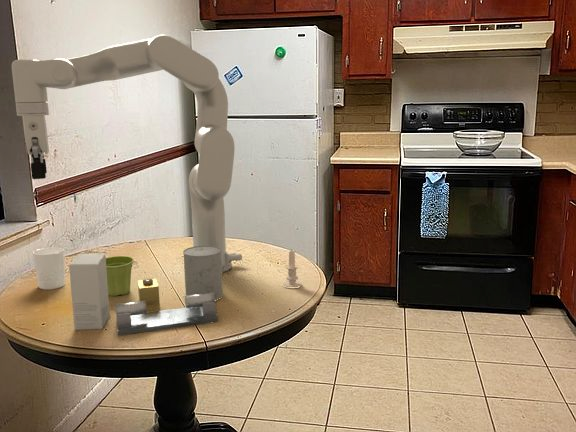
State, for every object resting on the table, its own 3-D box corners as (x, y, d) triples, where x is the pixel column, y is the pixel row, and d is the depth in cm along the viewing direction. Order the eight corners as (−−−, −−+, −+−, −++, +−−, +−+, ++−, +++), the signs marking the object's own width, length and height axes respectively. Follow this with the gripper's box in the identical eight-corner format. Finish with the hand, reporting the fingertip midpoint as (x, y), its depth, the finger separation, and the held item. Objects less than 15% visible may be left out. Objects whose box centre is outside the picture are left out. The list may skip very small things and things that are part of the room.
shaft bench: (210, 308, 138) (209, 286, 137) (217, 321, 129) (217, 299, 128) (116, 320, 131) (114, 297, 130) (118, 335, 123) (116, 311, 121)
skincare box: (83, 316, 134) (77, 253, 130) (112, 315, 134) (106, 252, 131) (73, 331, 125) (66, 263, 122) (103, 329, 126) (98, 262, 123)
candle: (282, 289, 151) (281, 251, 148) (283, 282, 156) (282, 246, 153) (301, 288, 150) (301, 251, 148) (302, 282, 155) (301, 246, 153)
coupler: (139, 303, 142) (137, 277, 140) (157, 301, 143) (155, 275, 142) (141, 312, 136) (139, 285, 135) (160, 309, 137) (158, 283, 136)
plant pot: (123, 300, 144) (120, 267, 142) (91, 296, 146) (88, 264, 145) (143, 288, 152) (140, 257, 151) (112, 285, 155) (110, 254, 153)
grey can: (229, 292, 148) (227, 247, 146) (212, 305, 140) (210, 257, 137) (196, 288, 152) (194, 244, 149) (178, 301, 143) (175, 254, 140)
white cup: (56, 291, 151) (52, 255, 149) (30, 289, 152) (26, 254, 150) (73, 281, 158) (69, 247, 156) (48, 280, 160) (44, 246, 158)
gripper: (47, 110, 138) (54, 179, 141) (49, 108, 153) (55, 171, 157) (13, 111, 135) (21, 181, 139) (18, 109, 151) (25, 172, 154)
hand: (39, 176), depth 148 cm, fingers open, 9 cm apart
